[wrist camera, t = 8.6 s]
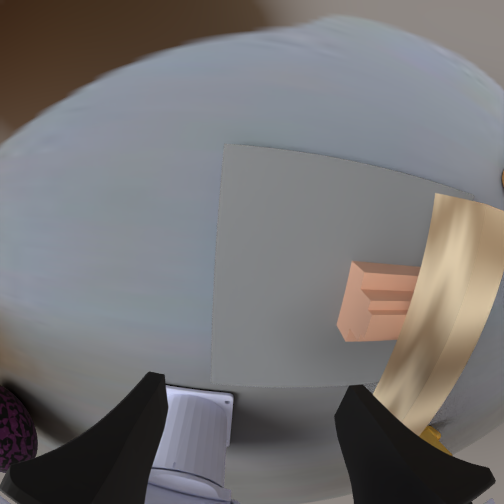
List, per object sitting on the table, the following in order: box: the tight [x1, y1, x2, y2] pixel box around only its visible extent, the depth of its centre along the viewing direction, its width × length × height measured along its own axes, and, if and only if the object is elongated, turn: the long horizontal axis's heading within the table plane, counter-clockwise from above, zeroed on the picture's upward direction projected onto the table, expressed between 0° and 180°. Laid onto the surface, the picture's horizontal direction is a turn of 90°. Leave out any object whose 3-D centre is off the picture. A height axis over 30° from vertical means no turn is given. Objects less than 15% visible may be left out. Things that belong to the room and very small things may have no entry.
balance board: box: [211, 144, 474, 388], centre depth 17 cm, size 18×20×6 cm
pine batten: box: [373, 193, 504, 436], centre depth 12 cm, size 16×3×4 cm, turn 175°
